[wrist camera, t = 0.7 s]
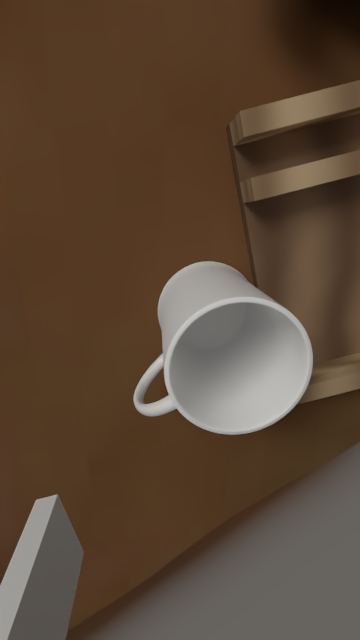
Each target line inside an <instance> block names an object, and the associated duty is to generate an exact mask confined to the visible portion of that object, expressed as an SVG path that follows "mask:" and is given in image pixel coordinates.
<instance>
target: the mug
mask: <svg viewBox="0 0 360 640" xmlns="http://www.w3.org/2000/svg"><path fill="white" fill-rule="evenodd" d="M158 319H159V324H160V327H161V329H162V345H163V354H162V355H161V356H159V357H158V358H157V359H156V361H155V362H154V363H153V364H152V365H151V366H150V367H149V368H148V370H147V371H146V372H145V374H144V375H143V376H142V378H141V380H140V381H139V383H138V385H137V387H136V390H135V393H134V405H135V407H136V409H137V410H138V411H139V412H140V413H141V414H143V415H145V416H159V415H163V414H166V413H168V412H170V411H173V410H175V409H178V411H179V412H180V413H181V414H182V415H183V416H184V417H185V418H186V419H188V420H189V421H190V422H192V423H193V424H195V425H197V426H199V427H201V428H203V429H205V430H208V431H211V432H215V433H220V434H231V435H234V434H245V433H250V432H254V431H258V430H261V429H263V428H266V427H268V426H270V425H272V424H274V423H275V422H277V421H278V420H280V419H281V418H283V417H284V416H285V415H286V414H288V413H289V412H290V411H291V410H292V409H293V408H294V407H295V405H296V404H297V403H298V402H299V400H300V399H301V397H302V396H303V394H304V392H305V390H306V388H307V386H308V384H309V381H310V378H311V374H312V368H313V352H312V346H311V342H310V339H309V337H308V334H307V332H306V330H305V329H304V327H303V325H302V324H301V323H300V321H299V320H298V319H297V318H296V317H295V316H294V315H293V314H292V313H291V312H290V311H288V310H287V309H286V308H284V307H283V306H282V305H280V304H279V303H277V302H276V301H275V300H273V299H272V298H270V297H269V296H267V295H266V294H265V293H263V292H262V291H260V290H259V289H257V288H256V287H255V286H253V285H252V284H250V283H249V282H248V281H247V279H246V278H245V277H244V276H243V275H242V274H241V273H240V272H239V271H237V270H236V269H234V268H233V267H231V266H228V265H226V264H223V263H219V262H211V261H207V262H199V263H195V264H191V265H189V266H187V267H185V268H183V269H181V270H180V271H178V272H177V273H176V274H175V275H174V276H173V277H172V278H171V279H170V280H169V281H168V282H167V284H166V285H165V287H164V289H163V291H162V293H161V295H160V299H159V303H158ZM163 367H164V378H165V384H166V388H167V391H168V394H169V395H168V396H167V397H165V398H163V399H161V400H159V401H157V402H154V403H151V404H143V397H144V394H145V392H146V390H147V388H148V386H149V384H150V383H151V381H152V380H153V379H154V377H155V376H156V375H157V374H158V372H159V371H160V370H161V369H162V368H163Z"/></svg>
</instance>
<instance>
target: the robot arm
mask: <svg viewBox="0 0 360 640" xmlns="http://www.w3.org/2000/svg"><path fill="white" fill-rule="evenodd" d="M83 554H84V551H83V549H82V547H81V544H80V542H79V540H78V538H77V536H76V534H75V531H74V529H73V527H72V525H71V523H70V520H69V518H68V516H67V514H66V512H65V509H64V507H63V505H62V503H61V501H60V498H59V496H58V494H57V495H53V496H50V497H46V498H42V499H38V500H36V501H35V504H34V506H33V508H32V511H31V513H30V516H29V518H28V520H27V523H26V525H25V528H24V530H23V532H22V535H21V537H20V540H19V542H18V544H17V547H16V549H15V552H14V554H13V556H12V559H11V561H10V564H9V566H8V568H7V571H6V573H5V576H4V578H3V580H2V583H1V585H0V640H65V639H66V635H67V630H68V625H69V621H70V616H71V611H72V606H73V602H74V597H75V592H76V587H77V582H78V578H79V573H80V568H81V563H82V559H83Z"/></svg>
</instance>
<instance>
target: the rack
mask: <svg viewBox="0 0 360 640" xmlns="http://www.w3.org/2000/svg"><path fill="white" fill-rule="evenodd" d="M226 130H227V136H228V141H229V147H230V152H231V158H232V164H233V169H234V175H235V180H236V186H237V191H238V197H239V203H240V208H241V214H242V219H243V225H244V230H245V236H246V242H247V247H248V253H249V258H250V264H251V270H252V275H253V281H254V286H255V287H256V288H257V289H259V290H260V291H262V292H263V293H265V294H266V295H267V296H269V297H270V298H272V299H273V300H275V301H276V302H277V303H279V304H280V305H282V306H283V307H284V308H286V309H287V310H288V311H290V312H291V313H292V314H293V315H294V316H295V317H296V318H297V319H298V320H299V321H300V323H301V324H302V325H303V327H304V329H305V330H306V332H307V334H308V337H309V339H310V342H311V346H312V352H313V368H312V374H311V378H310V381H309V384H308V386H307V388H306V390H305V392H304V394H303V396H302V397H301V399H300V400H299V402H298V403H297V404H301V403H305V402H309V401H313V400H317V399H321V398H325V397H329V396H333V395H337V394H341V393H345V392H349V391H352V390H356V389H360V80H358V81H354V82H350V83H346V84H342V85H338V86H335V87H331V88H327V89H323V90H319V91H315V92H311V93H308V94H304V95H300V96H296V97H292V98H288V99H284V100H281V101H277V102H273V103H269V104H265V105H261V106H257V107H254V108H250V109H246V110H242V111H239V112H238V114H237V115H236V116H235V117H234V119H233V120H232V121H231V122H230V124H229V125H228V126H227V128H226ZM297 404H296V405H297Z"/></svg>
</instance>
